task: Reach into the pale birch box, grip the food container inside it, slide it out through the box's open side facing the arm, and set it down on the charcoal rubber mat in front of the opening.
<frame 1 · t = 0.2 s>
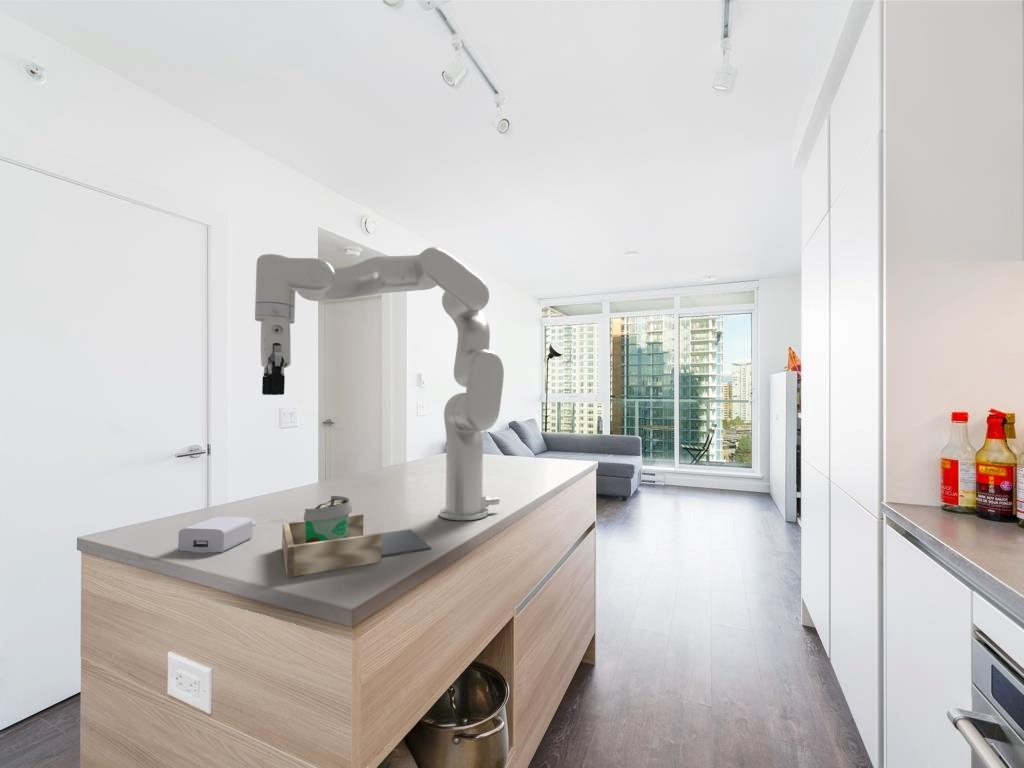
hand: (272, 394, 96), 31 cm above the countertop, tool pointing down, fingers open, 9 cm apart
mat: (396, 542, 94), on the countertop
charger: (227, 542, 95), on the countertop
open box: (329, 554, 87), on the countertop
food container: (333, 555, 87), on the countertop
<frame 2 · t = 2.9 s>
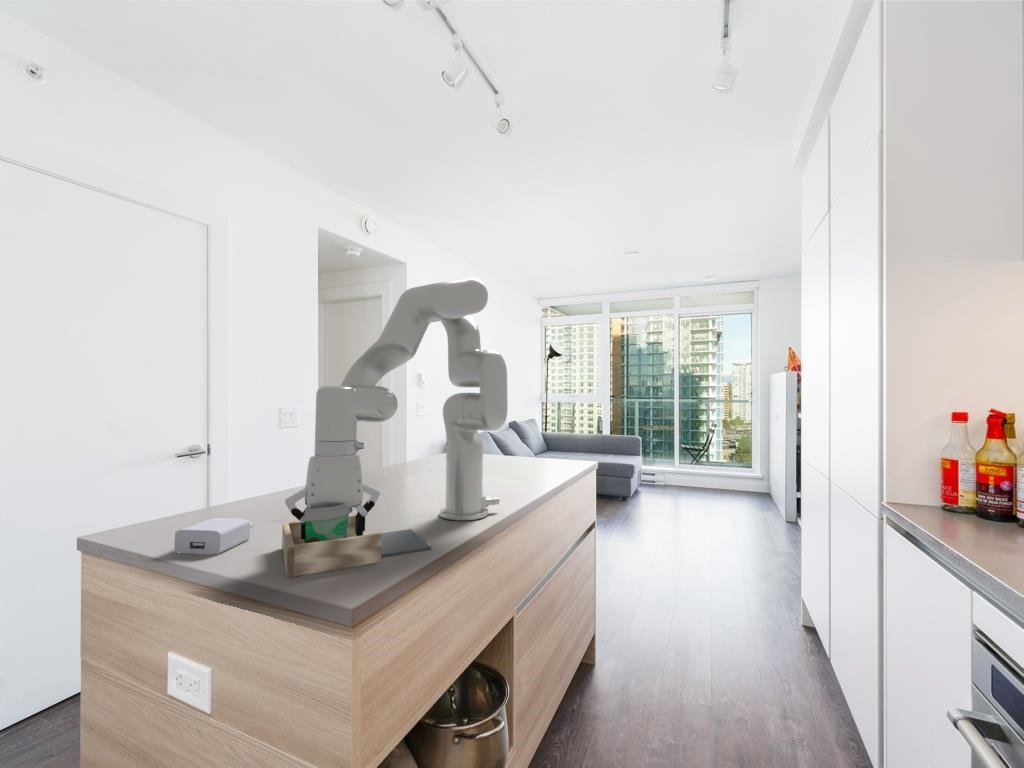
hand: (333, 538, 87), 3 cm above the countertop, tool pointing down, fingers open, 9 cm apart
food container: (333, 555, 87), on the countertop, touching gripper
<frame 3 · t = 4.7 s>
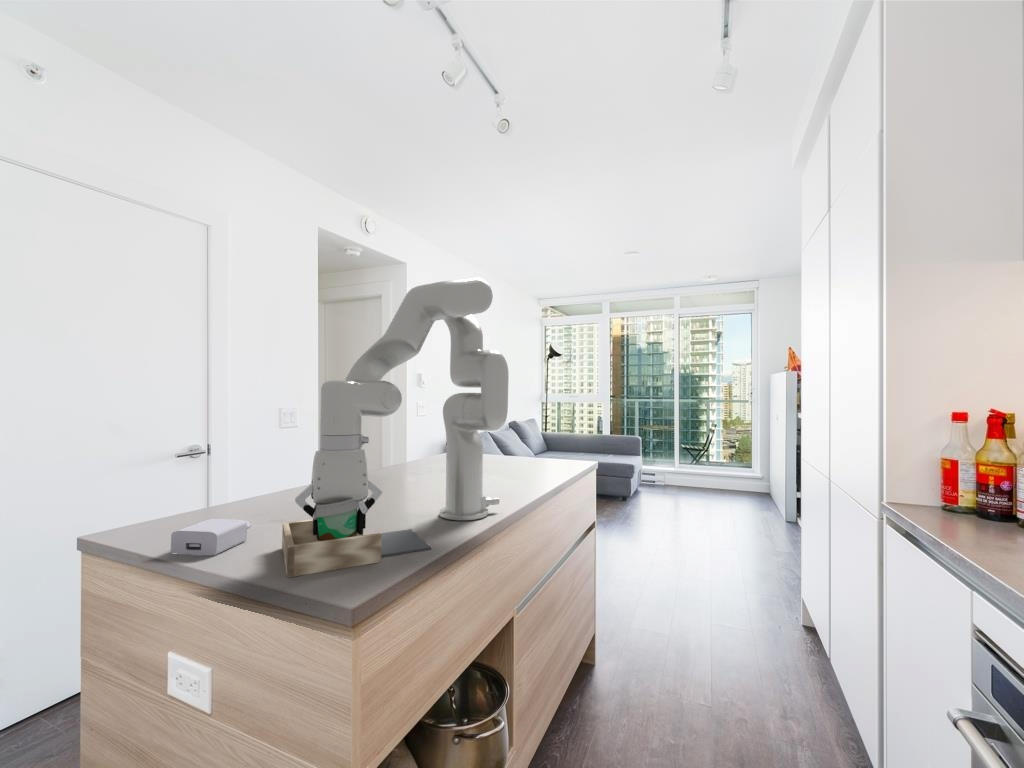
hand: (339, 534, 88), 3 cm above the countertop, tool pointing down, fingers closed on food container, 6 cm apart
food container: (346, 549, 88), on the countertop, touching gripper
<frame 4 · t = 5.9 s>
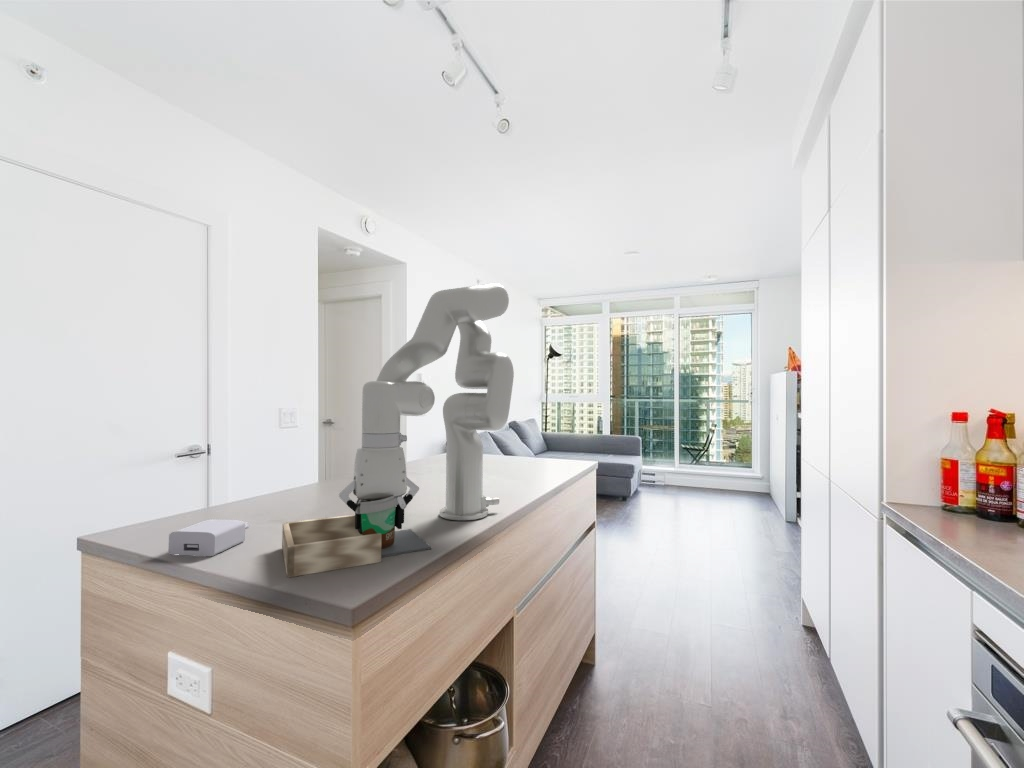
hand: (379, 529, 92), 4 cm above the countertop, tool pointing down, fingers closed on food container, 6 cm apart
food container: (384, 544, 92), resting on mat, touching gripper
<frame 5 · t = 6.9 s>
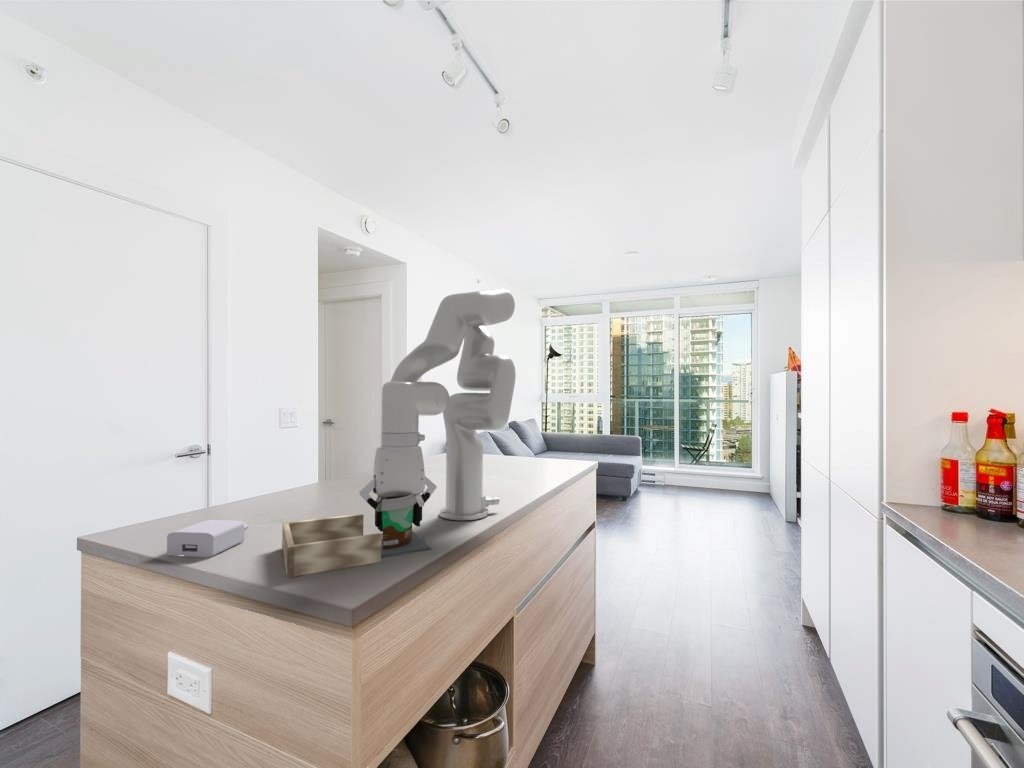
hand: (398, 526, 94), 4 cm above the countertop, tool pointing down, fingers closed on food container, 6 cm apart
food container: (401, 541, 94), resting on mat, touching gripper
when the fingers open (3 cm above the countertop, at t = 7.6 s): food container stays where it is, resting on mat.
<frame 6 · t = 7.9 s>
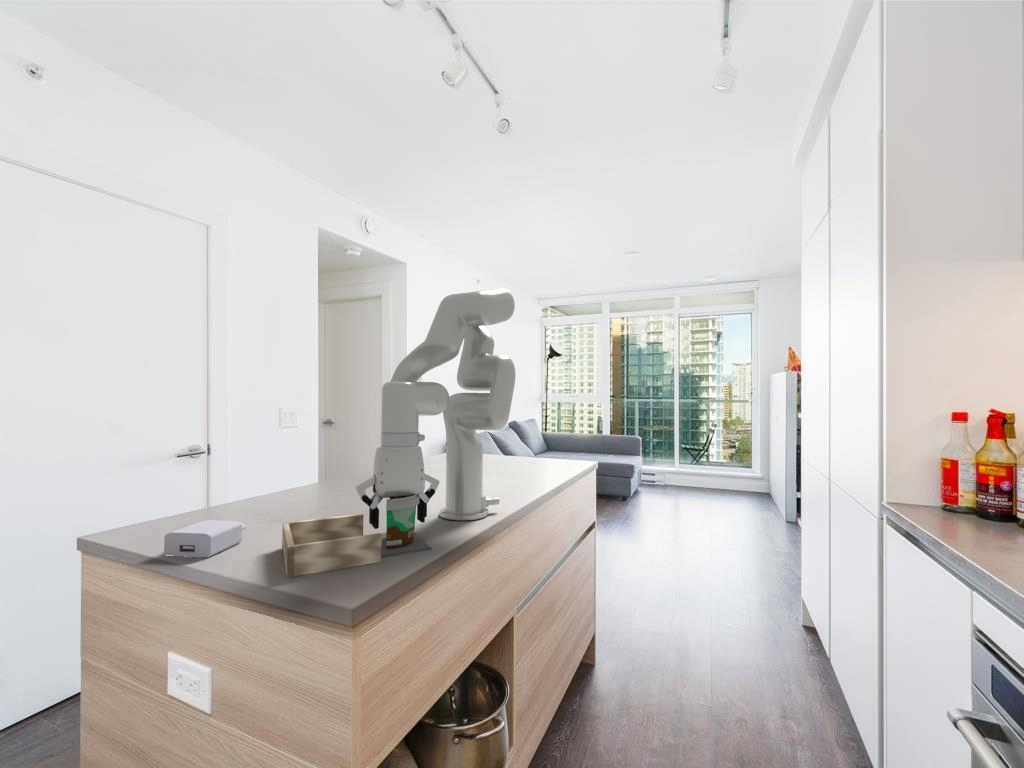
hand: (398, 523, 94), 4 cm above the countertop, tool pointing down, fingers open, 9 cm apart
food container: (404, 542, 94), resting on mat, touching gripper
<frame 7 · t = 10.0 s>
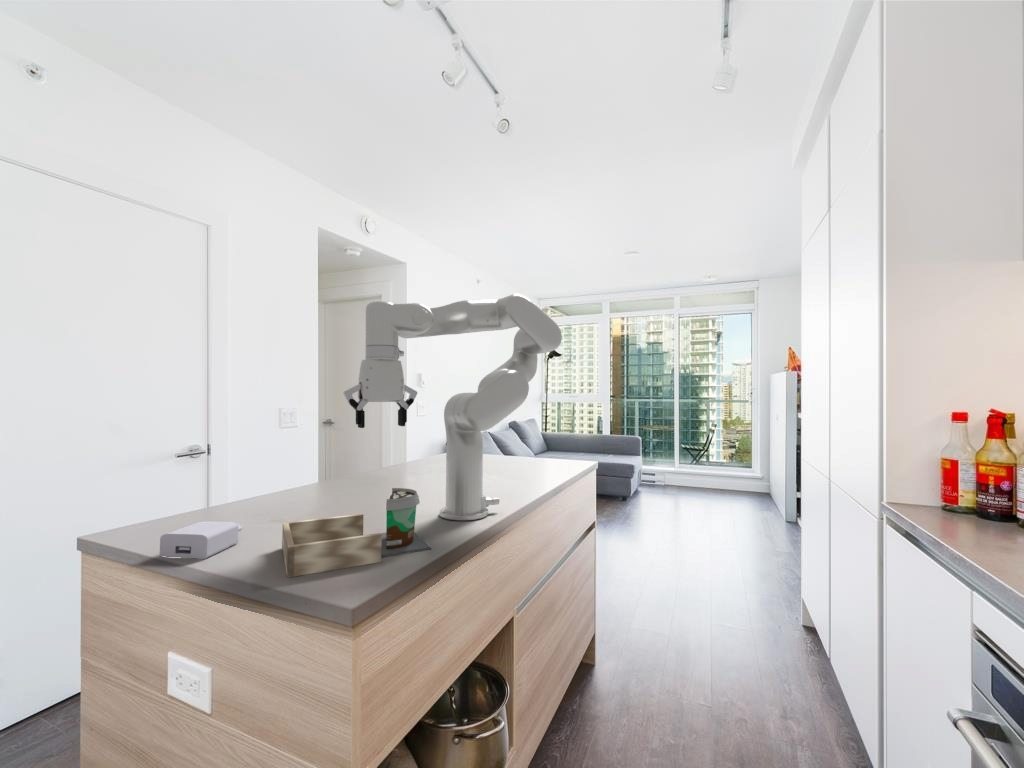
hand: (381, 426, 107), 23 cm above the countertop, tool pointing down, fingers open, 9 cm apart
food container: (404, 542, 94), resting on mat
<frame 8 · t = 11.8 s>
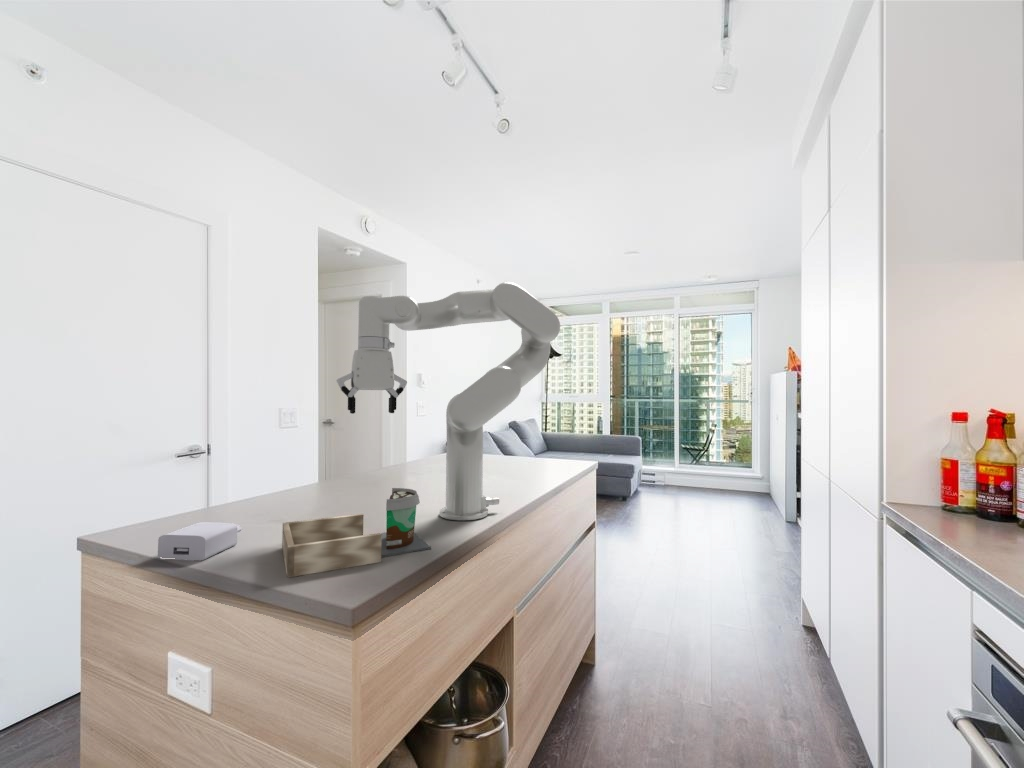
hand: (372, 413, 114), 26 cm above the countertop, tool pointing down, fingers open, 9 cm apart
at the end: food container inside the target area (0.7 cm from its centre), resting on mat; food container tilted 0°; the gripper is holding nothing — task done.
